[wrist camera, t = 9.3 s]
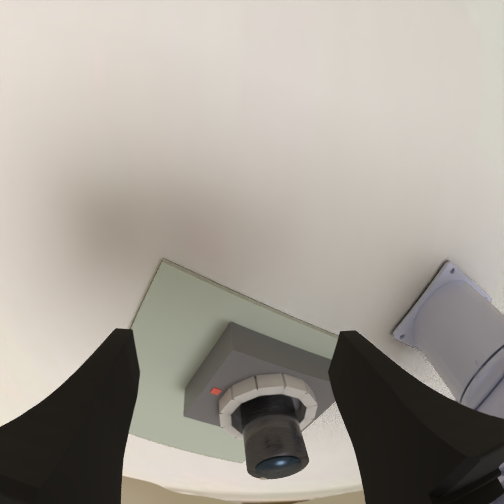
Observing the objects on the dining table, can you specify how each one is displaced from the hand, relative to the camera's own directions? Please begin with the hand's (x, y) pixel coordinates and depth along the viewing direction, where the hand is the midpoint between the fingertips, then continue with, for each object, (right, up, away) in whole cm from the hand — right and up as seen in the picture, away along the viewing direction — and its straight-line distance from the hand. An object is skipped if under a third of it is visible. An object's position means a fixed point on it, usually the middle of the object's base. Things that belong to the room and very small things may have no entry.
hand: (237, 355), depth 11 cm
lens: (+2, -8, +11) cm, 14 cm away
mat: (-3, -9, +15) cm, 18 cm away
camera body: (+1, -7, +14) cm, 16 cm away
